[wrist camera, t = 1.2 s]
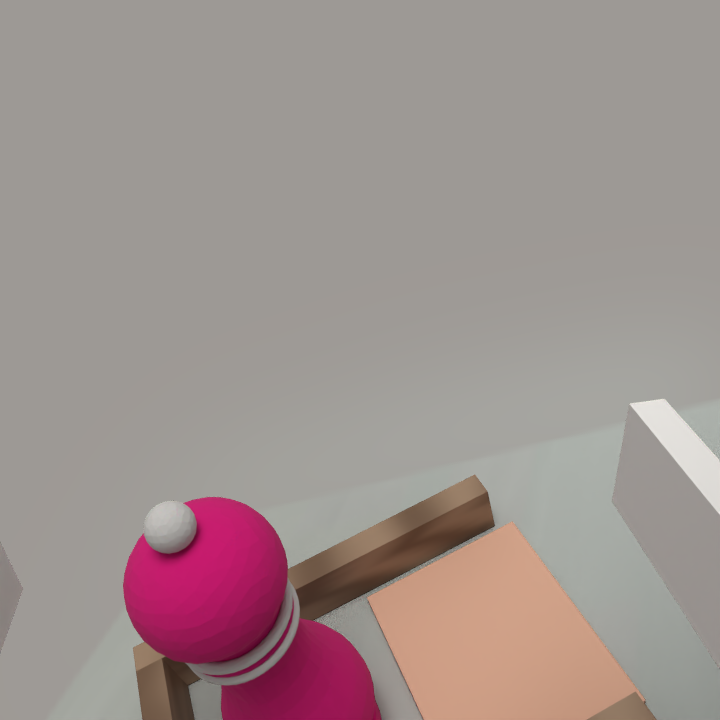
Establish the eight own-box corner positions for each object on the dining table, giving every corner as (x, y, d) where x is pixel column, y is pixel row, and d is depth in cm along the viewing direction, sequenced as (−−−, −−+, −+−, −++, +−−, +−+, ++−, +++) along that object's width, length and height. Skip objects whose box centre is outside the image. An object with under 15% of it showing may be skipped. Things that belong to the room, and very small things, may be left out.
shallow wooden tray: (482, 508, 44) (475, 474, 41) (656, 752, 32) (659, 723, 29) (160, 674, 41) (132, 647, 39) (214, 1014, 29) (180, 1003, 26)
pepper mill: (232, 755, 36) (19, 545, 23) (321, 643, 40) (176, 406, 27) (330, 853, 32) (134, 659, 19) (420, 717, 35) (304, 476, 23)
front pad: (513, 524, 42) (512, 521, 42) (645, 702, 33) (645, 700, 33) (368, 599, 41) (366, 597, 41) (464, 807, 32) (463, 805, 32)
